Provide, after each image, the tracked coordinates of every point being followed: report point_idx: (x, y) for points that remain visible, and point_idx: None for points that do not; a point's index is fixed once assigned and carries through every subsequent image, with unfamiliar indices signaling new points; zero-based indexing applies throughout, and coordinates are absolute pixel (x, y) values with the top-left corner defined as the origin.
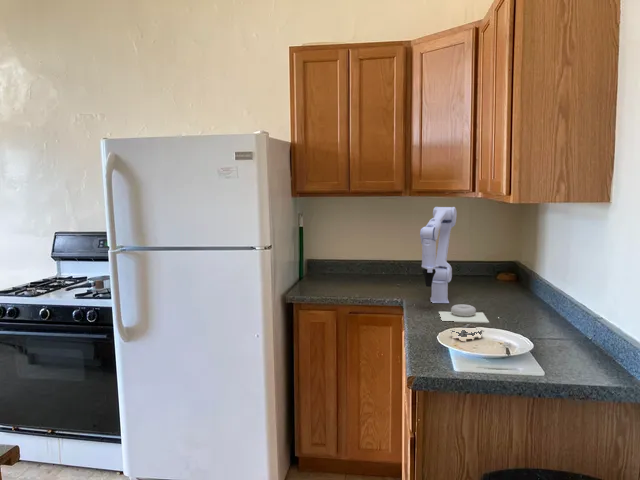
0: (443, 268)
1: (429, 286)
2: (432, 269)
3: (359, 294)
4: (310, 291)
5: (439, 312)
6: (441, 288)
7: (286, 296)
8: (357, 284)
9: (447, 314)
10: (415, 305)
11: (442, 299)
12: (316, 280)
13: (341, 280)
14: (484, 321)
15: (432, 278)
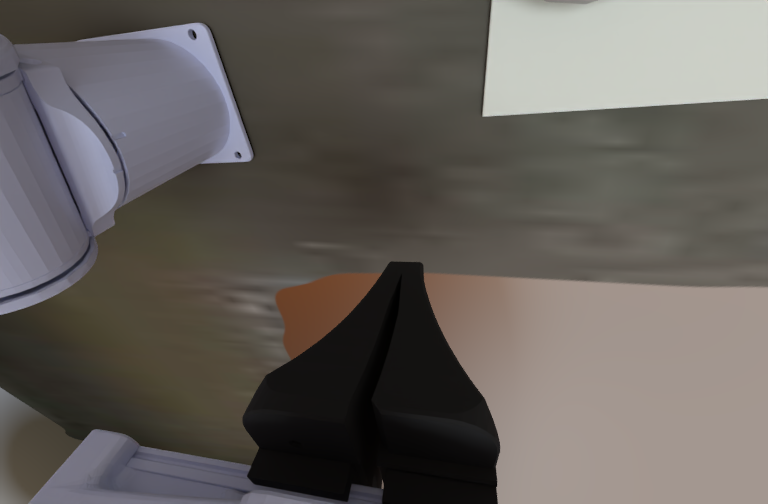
0: None
1: (423, 277)
2: (306, 442)
3: (241, 389)
4: None
5: (513, 110)
6: (142, 114)
7: None
8: (121, 383)
9: (583, 41)
10: (333, 241)
11: (205, 85)
12: (152, 440)
13: (108, 406)
14: None
15: (439, 329)
